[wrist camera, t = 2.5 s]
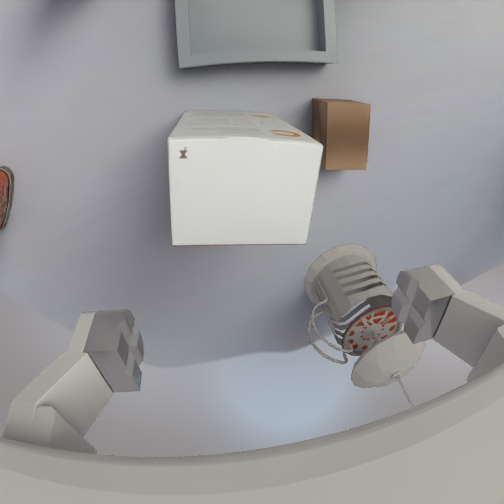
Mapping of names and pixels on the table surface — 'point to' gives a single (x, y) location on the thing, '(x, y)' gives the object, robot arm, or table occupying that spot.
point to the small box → (240, 179)
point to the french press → (361, 316)
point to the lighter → (5, 194)
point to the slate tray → (255, 32)
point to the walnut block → (341, 133)
